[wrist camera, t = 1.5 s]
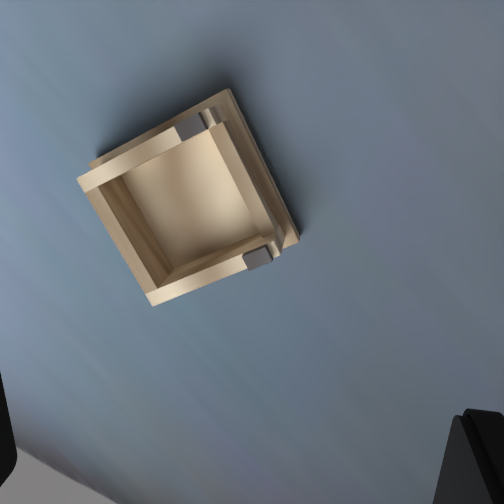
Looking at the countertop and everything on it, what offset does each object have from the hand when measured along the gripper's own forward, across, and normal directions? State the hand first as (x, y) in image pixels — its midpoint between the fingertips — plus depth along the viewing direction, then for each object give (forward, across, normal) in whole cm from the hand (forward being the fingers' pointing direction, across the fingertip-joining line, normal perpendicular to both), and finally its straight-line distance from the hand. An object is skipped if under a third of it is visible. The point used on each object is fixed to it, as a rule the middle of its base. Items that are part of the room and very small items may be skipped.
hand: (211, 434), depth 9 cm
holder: (+24, +7, +2) cm, 24 cm away
